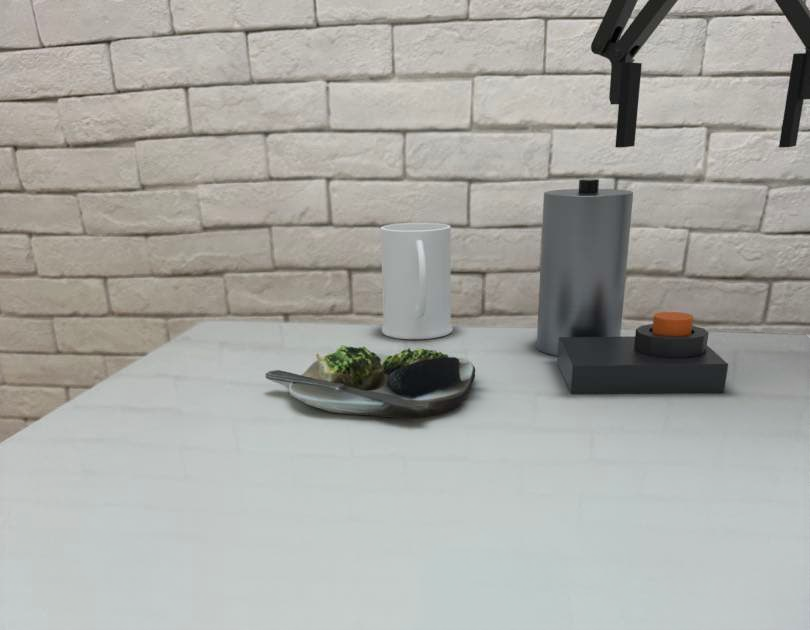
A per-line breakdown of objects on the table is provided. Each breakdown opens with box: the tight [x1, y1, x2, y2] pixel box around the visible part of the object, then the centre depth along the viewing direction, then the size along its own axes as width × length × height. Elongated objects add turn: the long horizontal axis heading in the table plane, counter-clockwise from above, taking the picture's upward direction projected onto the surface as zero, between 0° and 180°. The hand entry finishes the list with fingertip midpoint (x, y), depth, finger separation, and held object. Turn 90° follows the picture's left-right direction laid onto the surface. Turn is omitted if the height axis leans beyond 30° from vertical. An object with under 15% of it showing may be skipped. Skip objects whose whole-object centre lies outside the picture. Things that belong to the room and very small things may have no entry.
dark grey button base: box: [556, 323, 729, 395], centre depth 83 cm, size 14×11×4 cm
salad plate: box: [265, 345, 476, 419], centre depth 80 cm, size 19×18×5 cm
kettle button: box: [652, 311, 694, 336], centre depth 82 cm, size 4×4×2 cm
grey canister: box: [536, 178, 634, 357], centre depth 91 cm, size 9×9×17 cm
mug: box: [380, 222, 453, 340], centre depth 99 cm, size 12×8×12 cm
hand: (702, 147), depth 72 cm, fingers open, 13 cm apart
